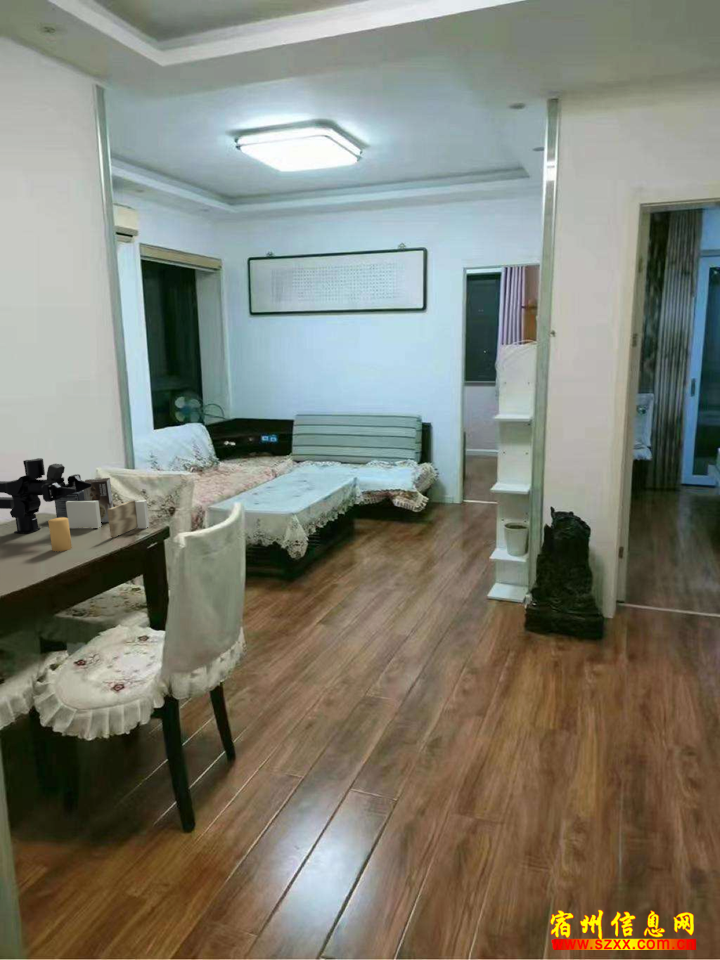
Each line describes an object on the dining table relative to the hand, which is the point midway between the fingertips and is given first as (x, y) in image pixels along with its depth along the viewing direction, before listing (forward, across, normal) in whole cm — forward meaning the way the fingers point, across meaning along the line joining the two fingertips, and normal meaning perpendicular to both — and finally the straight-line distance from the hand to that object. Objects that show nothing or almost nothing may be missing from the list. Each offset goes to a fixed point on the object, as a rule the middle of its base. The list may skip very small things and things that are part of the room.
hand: (83, 487), depth 237 cm
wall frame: (+3, +7, +17) cm, 18 cm away
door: (+14, +1, +16) cm, 21 cm away
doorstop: (+3, -19, +17) cm, 25 cm away
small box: (-20, +20, +17) cm, 33 cm away
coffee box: (-5, +16, +17) cm, 24 cm away
